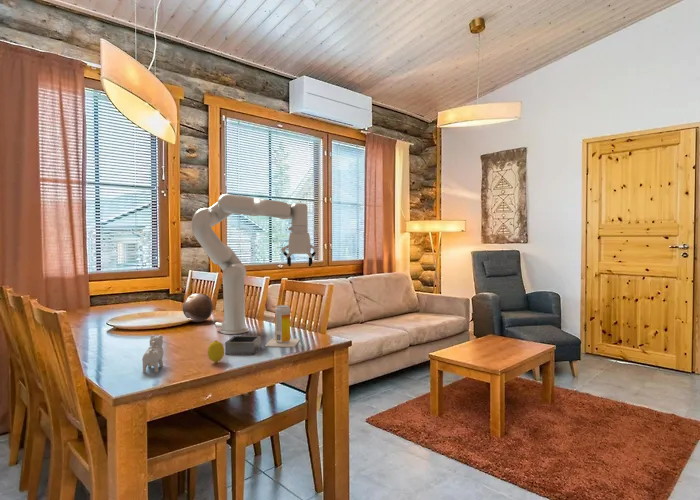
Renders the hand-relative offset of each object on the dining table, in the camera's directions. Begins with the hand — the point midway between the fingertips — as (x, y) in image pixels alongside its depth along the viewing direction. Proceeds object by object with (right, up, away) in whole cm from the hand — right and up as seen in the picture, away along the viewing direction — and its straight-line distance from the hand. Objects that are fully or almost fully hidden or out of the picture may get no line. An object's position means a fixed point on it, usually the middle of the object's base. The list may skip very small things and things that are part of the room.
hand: (299, 266), depth 211 cm
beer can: (-4, -31, -26) cm, 40 cm away
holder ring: (-18, -32, -37) cm, 52 cm away
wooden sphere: (-55, -30, +21) cm, 66 cm away
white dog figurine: (-43, -33, -60) cm, 81 cm away
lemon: (-23, -32, -54) cm, 67 cm away
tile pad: (-4, -31, -26) cm, 41 cm away
